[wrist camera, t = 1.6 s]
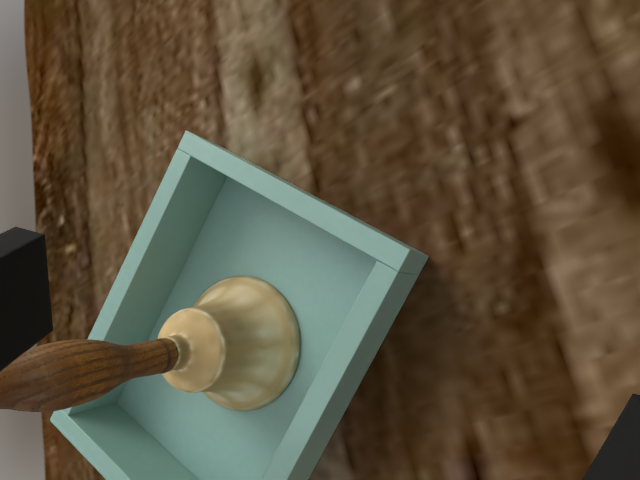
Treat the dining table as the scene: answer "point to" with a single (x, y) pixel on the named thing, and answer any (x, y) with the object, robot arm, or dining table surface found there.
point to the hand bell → (173, 355)
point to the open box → (223, 262)
